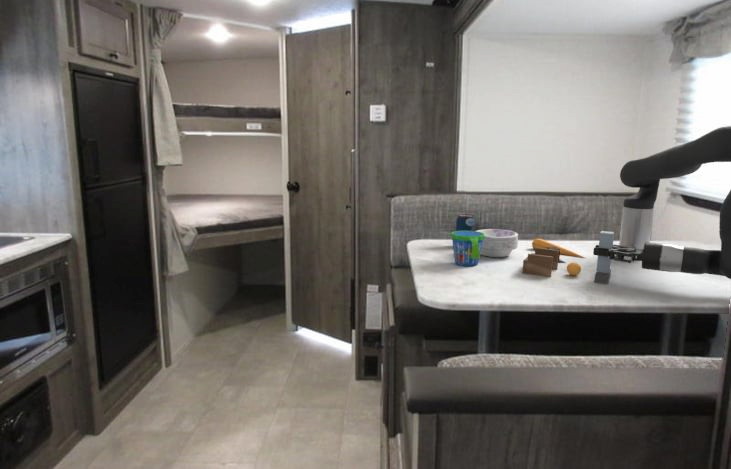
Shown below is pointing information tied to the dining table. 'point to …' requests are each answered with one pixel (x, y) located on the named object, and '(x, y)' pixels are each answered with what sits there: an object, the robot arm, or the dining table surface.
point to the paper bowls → (498, 242)
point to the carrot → (544, 244)
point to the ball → (573, 268)
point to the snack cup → (467, 247)
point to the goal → (541, 262)
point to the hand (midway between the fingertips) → (594, 249)
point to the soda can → (465, 222)
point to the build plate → (559, 254)
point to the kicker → (604, 258)
